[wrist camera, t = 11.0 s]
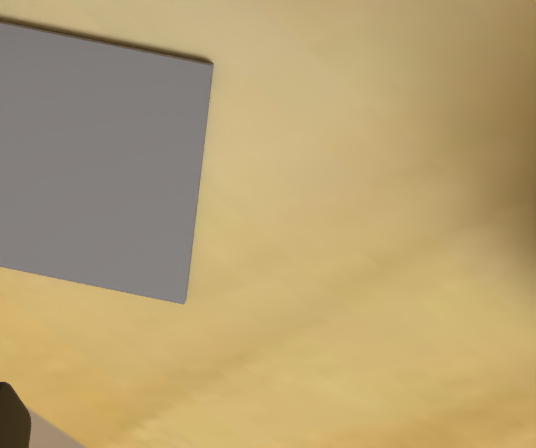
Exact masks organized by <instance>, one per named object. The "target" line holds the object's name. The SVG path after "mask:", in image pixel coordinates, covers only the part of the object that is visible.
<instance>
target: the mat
mask: <svg viewBox="0 0 536 448" xmlns="http://www.w3.org/2000/svg"><path fill="white" fill-rule="evenodd" d="M212 73H213V64H212V63H207V62H202V61H197V60H192V59H187V58H182V57H177V56H172V55H167V54H163V53H158V52H153V51H148V50H143V49H138V48H133V47H128V46H123V45H118V44H113V43H108V42H103V41H98V40H93V39H88V38H83V37H78V36H73V35H68V34H63V33H58V32H53V31H48V30H43V29H38V28H33V27H28V26H23V25H18V24H13V23H8V22H4V21H0V267H4V268H9V269H14V270H19V271H23V272H28V273H33V274H38V275H43V276H48V277H53V278H58V279H62V280H67V281H72V282H77V283H82V284H87V285H92V286H96V287H101V288H106V289H111V290H116V291H121V292H126V293H131V294H135V295H140V296H145V297H150V298H155V299H160V300H165V301H169V302H174V303H179V304H184V303H185V301H186V297H187V288H188V280H189V271H190V262H191V254H192V245H193V237H194V228H195V219H196V211H197V202H198V194H199V185H200V176H201V168H202V159H203V151H204V142H205V133H206V125H207V116H208V107H209V99H210V90H211V82H212Z"/></svg>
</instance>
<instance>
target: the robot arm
mask: <svg viewBox="0 0 536 448" xmlns="http://www.w3.org/2000/svg"><path fill="white" fill-rule="evenodd" d="M30 432H31V418H30V414H29V412H28V410H27V408H26V407H25V405H24V404H23V403H22V401H21V400H20V398H19V397H18V395H17V394H16V392H15V391H14V389H13V388H12V386H11V385H10V384H8V383H6V382H0V448H29V441H30Z"/></svg>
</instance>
